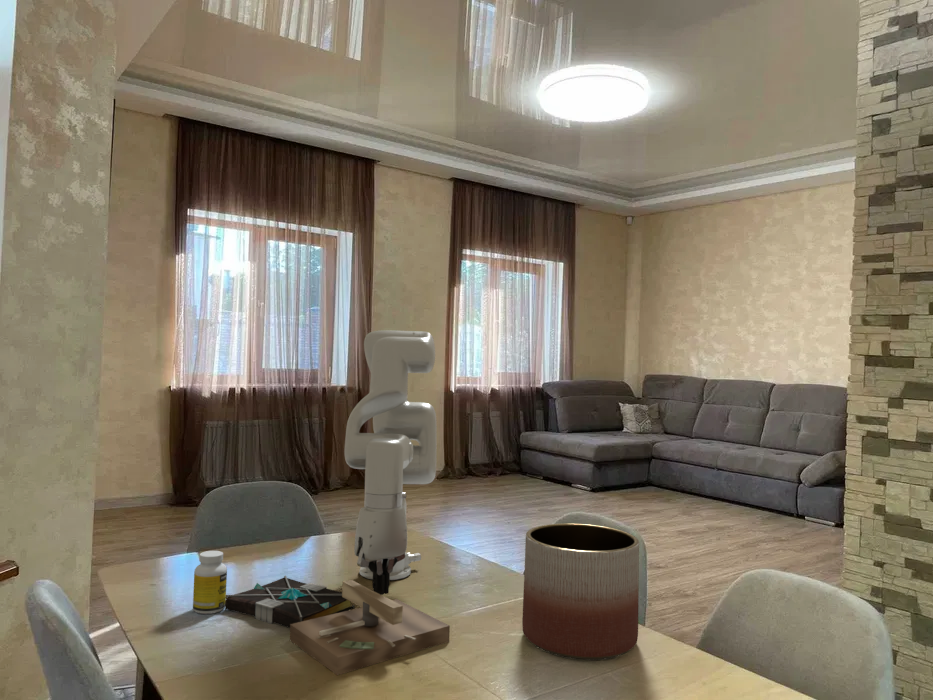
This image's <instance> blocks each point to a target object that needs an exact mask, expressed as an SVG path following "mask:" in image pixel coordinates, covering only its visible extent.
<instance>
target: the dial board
mask: <svg viewBox="0 0 933 700" xmlns="http://www.w3.org/2000/svg"><path fill="white" fill-rule="evenodd" d="M391 600H392V601H394V602H396V603H398V604H400V605H402V606H403V612H402V623H399V624H395V625H392V624H390V623H388V622H387V621H385V620H383V619H381V618H378V625H376V626H364V625H362V626H358V627H354V628H350V629H346V630H342V631H339V632H335V633H331V634H327V635H323V636H321V635H319V631H322V630H326V629H330V628H334V627H338V626H342V625H346V624H350V623H354V622H358V621H362V619H363V608H361V607H356V608H353V609H350V610H348V611H344V612H340V613H335V614H331V615H327V616H323V617H319V618H315V619H310V620H306V621H302V622H298V623H294V624H290V628H289V641H290V642H291V643H292V644H294V645H295V646H297V647H298V648H300V649H301V650H302V651H304V652H305V653H306V654H307V655H309V656H310V657H312V658H313V659H314V660H315V661H318V662H319V663H320V664H321V665H323V666H324V667H325V668H327V669H329V671H331V672H333V673H334V674H335V675H336V676H340V675H343V674H345V673H346V674H347V673H350V672H352V671H353V672H354V671H356V670H359V669H362V668H365V667H366V668H367V667H368V666H372V665H376V664H379V662H380V663H383V662H386V661H389V660H392V659H396V658H400V657H402V656H405V655H410V654H413V653H416V652H419V651H423V650H426V649H429V648H432V647H436V646H439V645H442V644H445V643H449V642H450V627H451V626H450V625H449V624H447V623H445V622H443V621H441V620H439V619H437V618H435V617H434V616H431V615H429V614H427V613H426V612H423V611H421V610H420V609H417V608H415V607H413V606H412V605H409V604H408V603H405V602H404V601H402V600H399V599H397V598H395V599H391ZM349 671H350V672H349ZM339 674H340V675H339Z"/></svg>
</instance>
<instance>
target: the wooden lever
mask: <svg viewBox="0 0 933 700" xmlns="http://www.w3.org/2000/svg"><path fill="white" fill-rule="evenodd" d="M341 586H342V589H341V592H342V597H343V598H345V599H347V600H349V601H351V603H353V605H356V606H357V607H359V608H363V619H362V621H358V622H354V623H350V624H346V625H342V626H338V627H334V628H330V629H326V630H322V631H319V635H321V636H323V635H327V634H331V633H335V632H339V631H342V630H346V629H350V628H354V627H358V626H362V625H364V626H376V625H378V618H381V619H383V620H385V621H387V622H388V623H390V624H392V625H395V624H399V623H402V612H403V606H402V605H400V604H398V603H396V602H394V601H392V600H393V599H390V598H388V597H387V596H384V595H380V594H378V593H376V592H374V591H373V589H371V588H368V587H366V586H365V585H363V584H361V583H360V582H359V583H358V582H356V581H355V580H353V579H349V580H344V581H342V585H341Z"/></svg>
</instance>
